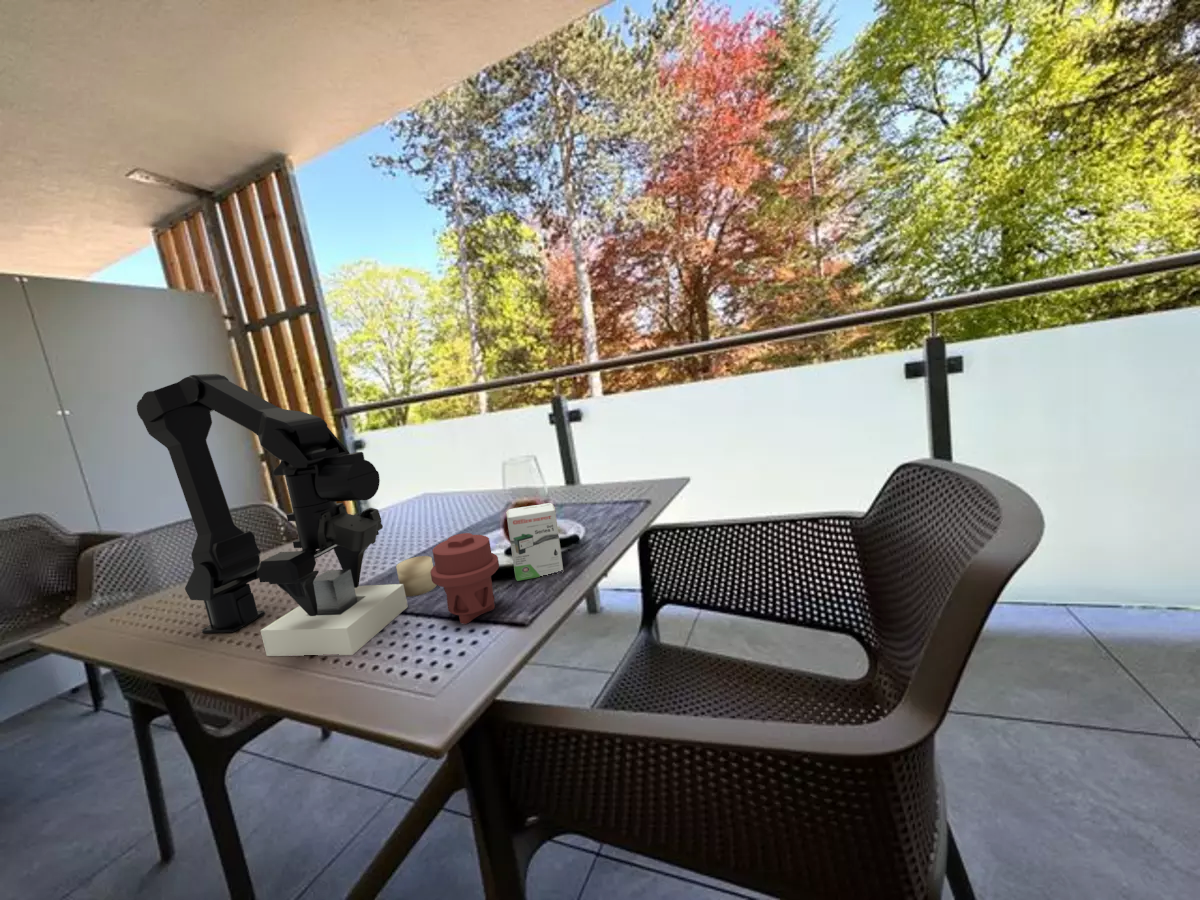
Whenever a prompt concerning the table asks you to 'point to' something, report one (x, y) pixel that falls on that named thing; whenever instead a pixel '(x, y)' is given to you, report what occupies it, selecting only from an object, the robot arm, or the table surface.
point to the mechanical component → (466, 574)
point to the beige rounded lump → (416, 575)
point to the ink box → (534, 541)
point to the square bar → (334, 592)
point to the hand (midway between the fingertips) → (335, 600)
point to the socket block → (335, 625)
